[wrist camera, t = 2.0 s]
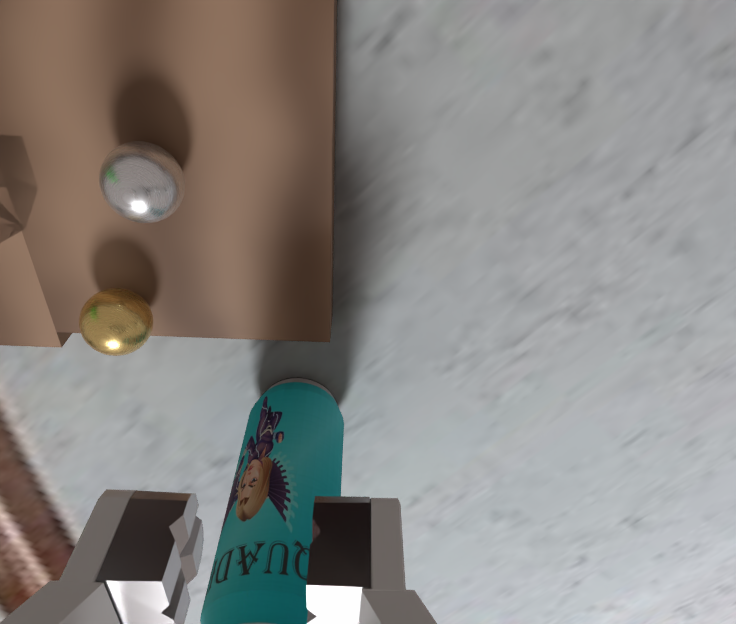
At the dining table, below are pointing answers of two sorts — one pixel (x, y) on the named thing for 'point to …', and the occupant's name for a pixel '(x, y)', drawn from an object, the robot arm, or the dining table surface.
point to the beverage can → (275, 506)
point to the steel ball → (142, 182)
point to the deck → (190, 149)
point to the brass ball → (116, 321)
